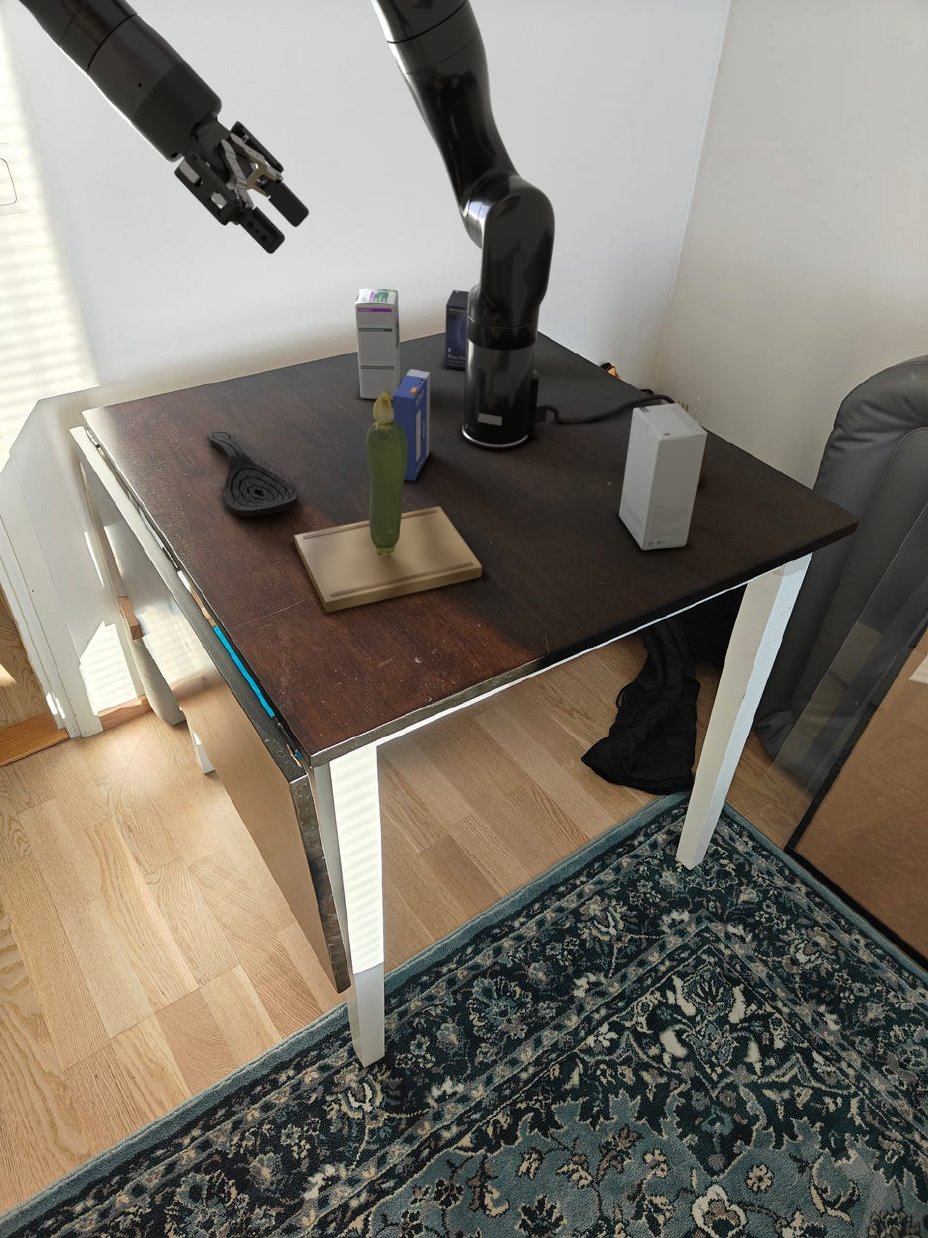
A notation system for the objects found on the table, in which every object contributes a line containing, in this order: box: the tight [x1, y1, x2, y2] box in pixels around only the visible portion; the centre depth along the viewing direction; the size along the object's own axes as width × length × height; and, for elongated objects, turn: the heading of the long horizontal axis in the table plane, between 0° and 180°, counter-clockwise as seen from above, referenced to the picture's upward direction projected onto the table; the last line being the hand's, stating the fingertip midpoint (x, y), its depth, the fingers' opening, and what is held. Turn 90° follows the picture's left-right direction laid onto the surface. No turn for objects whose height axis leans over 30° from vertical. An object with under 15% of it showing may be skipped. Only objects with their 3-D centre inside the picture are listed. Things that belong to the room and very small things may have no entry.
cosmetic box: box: [618, 402, 709, 551], centre depth 101 cm, size 8×6×15 cm
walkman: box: [392, 368, 431, 482], centre depth 112 cm, size 8×3×12 cm, turn 167°
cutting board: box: [294, 505, 483, 614], centre depth 99 cm, size 18×13×2 cm
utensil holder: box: [676, 396, 712, 484], centre depth 111 cm, size 6×6×12 cm
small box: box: [444, 289, 469, 371], centre depth 137 cm, size 11×6×10 cm, turn 80°
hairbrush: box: [206, 429, 299, 518], centre depth 111 cm, size 8×4×25 cm
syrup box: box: [354, 288, 402, 400], centre depth 127 cm, size 6×6×14 cm
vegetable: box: [365, 392, 408, 557], centre depth 92 cm, size 4×4×20 cm
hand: (291, 233), depth 85 cm, fingers open, 8 cm apart
